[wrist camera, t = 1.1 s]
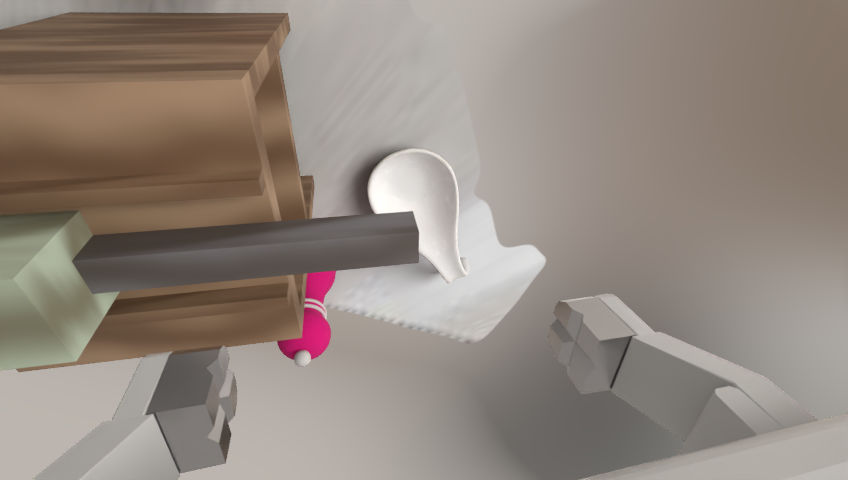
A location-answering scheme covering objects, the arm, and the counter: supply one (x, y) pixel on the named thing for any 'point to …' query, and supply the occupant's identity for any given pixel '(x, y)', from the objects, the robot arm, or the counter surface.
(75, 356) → the block
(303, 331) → the pepper mill
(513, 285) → the counter surface
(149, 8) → the counter surface
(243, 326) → the walnut shelf
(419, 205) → the spoon rest
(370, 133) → the counter surface
